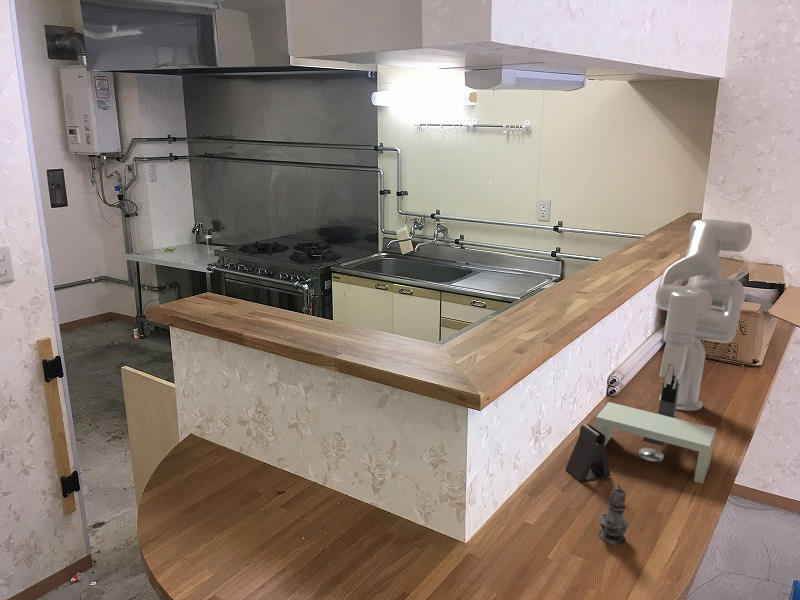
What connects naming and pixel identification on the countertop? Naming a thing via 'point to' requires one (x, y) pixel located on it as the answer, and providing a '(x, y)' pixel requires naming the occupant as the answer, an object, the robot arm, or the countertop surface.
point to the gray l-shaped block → (665, 412)
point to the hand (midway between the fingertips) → (668, 399)
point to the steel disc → (651, 455)
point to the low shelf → (659, 431)
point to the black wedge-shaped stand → (589, 456)
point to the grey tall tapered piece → (614, 518)
